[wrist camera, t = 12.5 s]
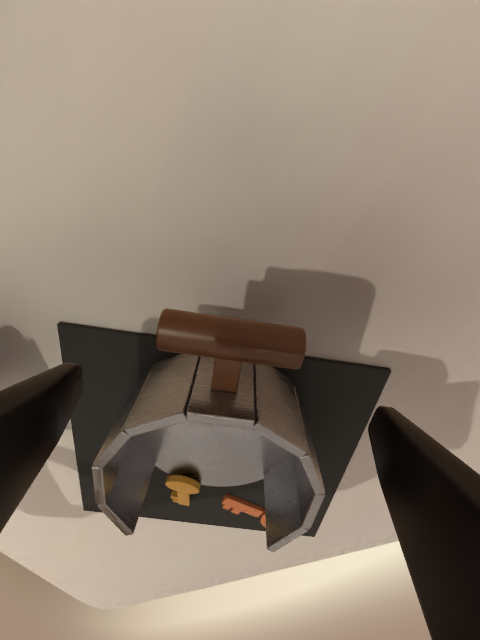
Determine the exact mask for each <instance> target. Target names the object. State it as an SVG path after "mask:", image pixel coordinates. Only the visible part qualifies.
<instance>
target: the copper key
mask: <svg viewBox="0 0 480 640" xmlns="http://www.w3.org/2000/svg"><path fill="white" fill-rule="evenodd" d="M222 508H224V509H226V510H229V509H230V508H231V512H232V513H234V514H237V515H238V514H239V513H240V512H241V511H242V512H244V513H247V514H249V515H252V516H255V517H259V516H260V522H261V524H262V525H263V526H264V527H266V518H265V510H263V507H260V506H258V505H255V504H253V503H250V502H248V501H245V500H243V499H240V498H238V497H235V496H233V495H230V494H226V495H225V496H224V497H223V499H222Z"/></svg>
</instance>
